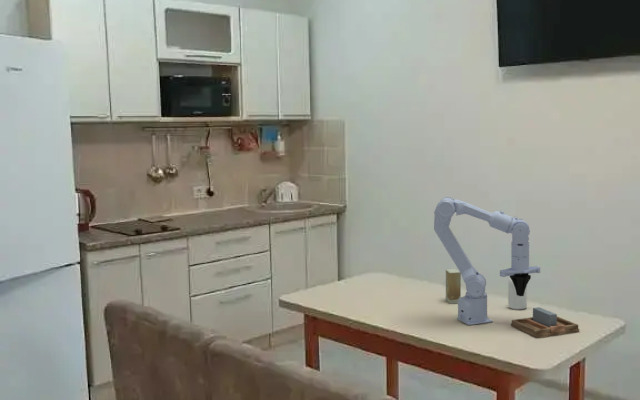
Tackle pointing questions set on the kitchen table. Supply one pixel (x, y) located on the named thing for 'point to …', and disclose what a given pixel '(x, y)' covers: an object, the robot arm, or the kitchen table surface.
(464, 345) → the kitchen table surface
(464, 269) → the robot arm
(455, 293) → the skincare box
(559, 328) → the rack
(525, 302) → the can
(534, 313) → the blue-gray rectangular block
